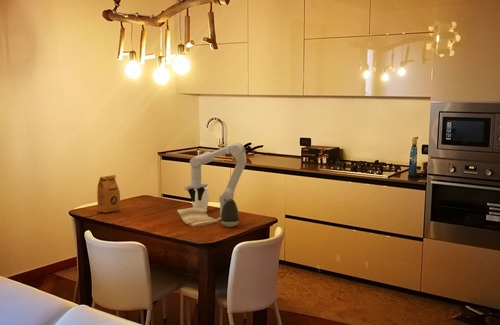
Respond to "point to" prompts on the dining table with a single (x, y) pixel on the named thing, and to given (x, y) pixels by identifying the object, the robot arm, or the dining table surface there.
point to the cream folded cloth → (192, 213)
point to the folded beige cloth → (202, 221)
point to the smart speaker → (229, 213)
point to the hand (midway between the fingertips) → (196, 201)
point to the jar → (204, 199)
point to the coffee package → (108, 195)
